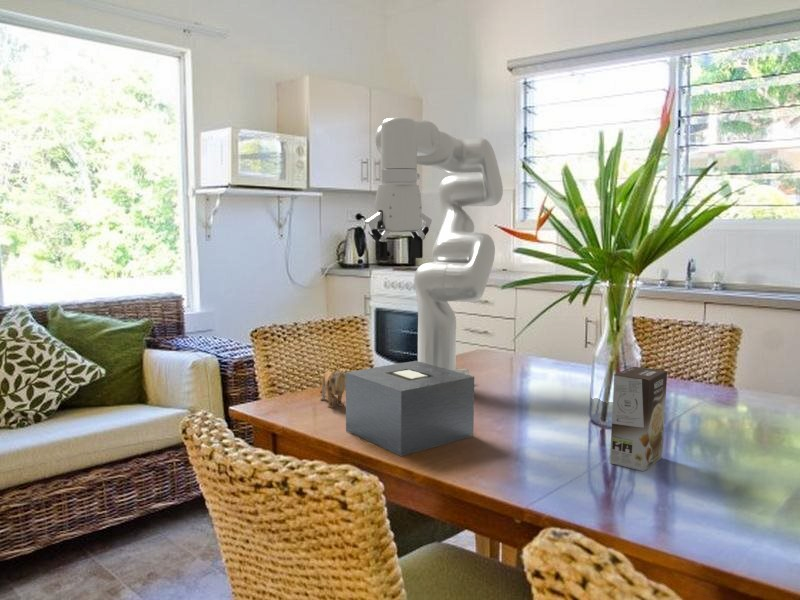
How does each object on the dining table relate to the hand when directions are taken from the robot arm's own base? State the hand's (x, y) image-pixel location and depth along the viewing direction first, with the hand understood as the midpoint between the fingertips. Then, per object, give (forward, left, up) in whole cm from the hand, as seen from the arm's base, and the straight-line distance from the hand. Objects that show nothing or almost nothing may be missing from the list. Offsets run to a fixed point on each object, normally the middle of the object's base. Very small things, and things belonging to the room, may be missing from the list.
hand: (399, 259), depth 145 cm
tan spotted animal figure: (+8, -14, -34) cm, 38 cm away
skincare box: (+8, +13, -34) cm, 37 cm away
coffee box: (-15, +49, -34) cm, 62 cm away
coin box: (+8, +13, -34) cm, 37 cm away
